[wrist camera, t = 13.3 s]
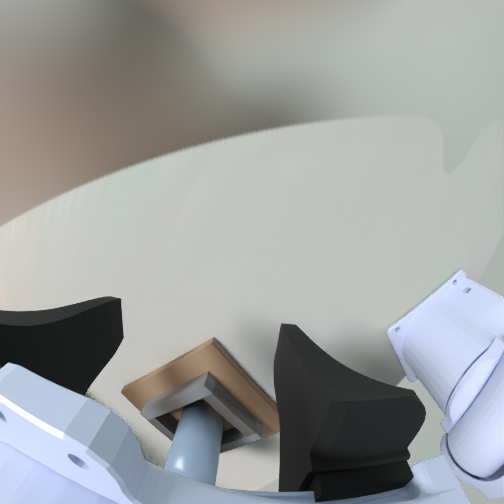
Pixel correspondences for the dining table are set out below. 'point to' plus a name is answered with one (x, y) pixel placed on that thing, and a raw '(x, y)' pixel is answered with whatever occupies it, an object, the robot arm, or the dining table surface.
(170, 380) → the holder
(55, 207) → the dining table surface
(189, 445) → the tube
